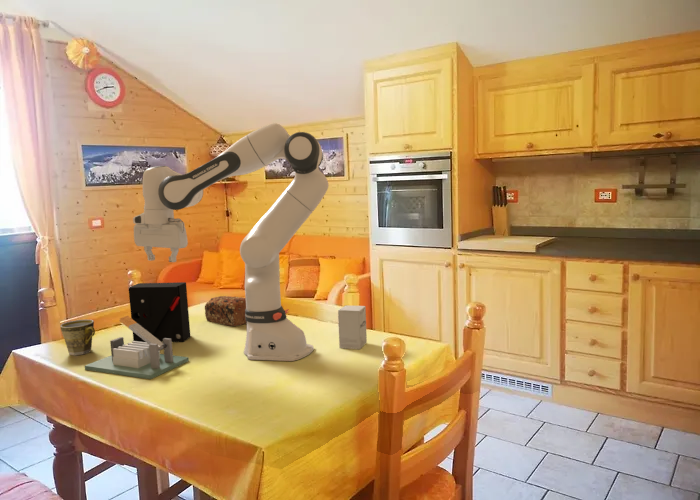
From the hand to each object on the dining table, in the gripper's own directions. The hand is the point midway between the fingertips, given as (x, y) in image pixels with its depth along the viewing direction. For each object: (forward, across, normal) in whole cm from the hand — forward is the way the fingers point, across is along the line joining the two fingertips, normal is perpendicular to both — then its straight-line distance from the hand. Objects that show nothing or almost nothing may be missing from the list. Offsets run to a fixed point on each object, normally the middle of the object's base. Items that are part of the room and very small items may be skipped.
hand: (161, 261), depth 172 cm
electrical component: (+31, +13, -10) cm, 35 cm away
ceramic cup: (+31, +28, +11) cm, 43 cm away
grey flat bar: (+21, -4, +13) cm, 24 cm away
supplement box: (+29, -54, -28) cm, 67 cm away
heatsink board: (+30, -1, +13) cm, 33 cm away
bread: (+30, +7, -39) cm, 50 cm away
